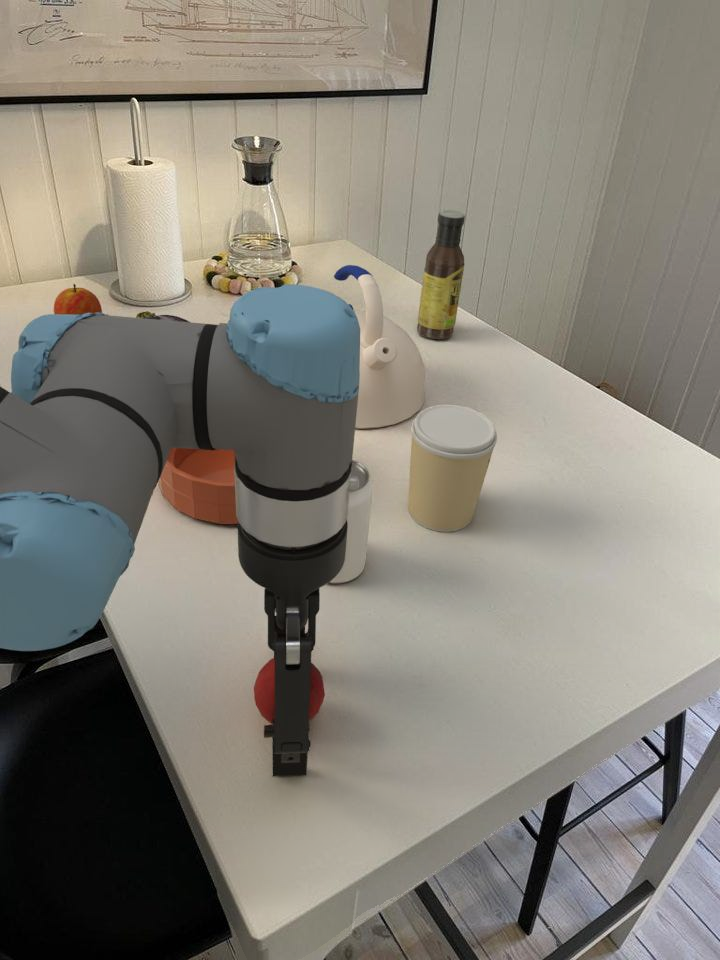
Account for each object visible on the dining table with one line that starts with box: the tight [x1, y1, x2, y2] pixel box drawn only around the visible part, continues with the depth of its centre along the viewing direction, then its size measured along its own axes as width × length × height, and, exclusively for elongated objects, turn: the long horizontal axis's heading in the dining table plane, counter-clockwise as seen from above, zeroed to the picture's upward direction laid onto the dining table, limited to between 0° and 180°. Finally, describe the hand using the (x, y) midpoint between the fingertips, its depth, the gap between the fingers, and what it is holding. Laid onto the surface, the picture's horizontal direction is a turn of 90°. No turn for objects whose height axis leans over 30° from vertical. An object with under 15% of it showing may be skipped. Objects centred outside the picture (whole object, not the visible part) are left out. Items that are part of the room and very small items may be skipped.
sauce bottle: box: [416, 209, 466, 340], centre depth 121 cm, size 6×6×20 cm
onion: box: [253, 657, 326, 725], centre depth 62 cm, size 6×6×8 cm
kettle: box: [333, 264, 426, 430], centre depth 104 cm, size 20×21×18 cm
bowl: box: [158, 448, 238, 525], centre depth 89 cm, size 18×18×6 cm
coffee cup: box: [407, 404, 498, 533], centre depth 85 cm, size 9×9×12 cm
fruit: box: [53, 283, 103, 315], centre depth 116 cm, size 7×7×8 cm
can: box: [328, 459, 373, 585], centre depth 77 cm, size 6×6×12 cm
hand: (289, 716), depth 64 cm, fingers open, 10 cm apart
